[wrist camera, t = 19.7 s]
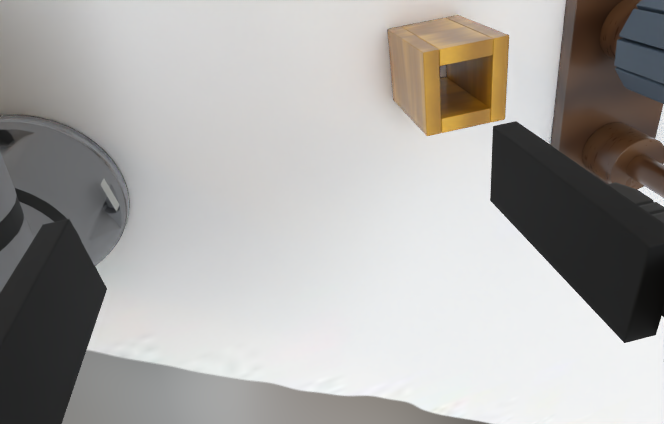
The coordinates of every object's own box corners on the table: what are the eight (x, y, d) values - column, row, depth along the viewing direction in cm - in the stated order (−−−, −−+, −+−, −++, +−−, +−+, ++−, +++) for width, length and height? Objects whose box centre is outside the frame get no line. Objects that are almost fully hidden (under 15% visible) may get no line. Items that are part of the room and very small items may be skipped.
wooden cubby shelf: (393, 100, 44) (426, 136, 37) (387, 28, 41) (422, 52, 33) (458, 86, 45) (505, 119, 37) (458, 14, 41) (509, 35, 34)
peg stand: (634, 179, 55) (746, 250, 43) (544, 200, 54) (632, 278, 42) (687, -59, 42) (867, -52, 30) (570, -36, 41) (707, -19, 29)
